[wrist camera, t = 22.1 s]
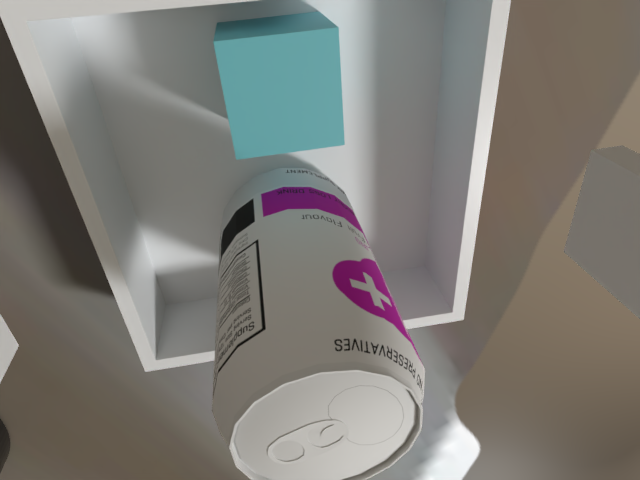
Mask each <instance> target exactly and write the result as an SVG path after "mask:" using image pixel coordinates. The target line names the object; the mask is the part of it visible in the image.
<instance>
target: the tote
mask: <svg viewBox="0 0 640 480" xmlns="http://www.w3.org/2000/svg"><path fill="white" fill-rule="evenodd" d="M510 3H511V0H0V17H1V20H2V22H3V24H4V27H5V29H6V32H7V34H8V37H9V39H10V42H11V44H12V47H13V49H14V51H15V54H16V56H17V59H18V61H19V64H20V66H21V69H22V71H23V73H24V76H25V78H26V81H27V83H28V86H29V88H30V91H31V93H32V95H33V98H34V100H35V103H36V105H37V108H38V110H39V113H40V115H41V118H42V120H43V122H44V125H45V127H46V130H47V132H48V135H49V137H50V140H51V142H52V144H53V147H54V149H55V152H56V154H57V157H58V159H59V162H60V164H61V166H62V169H63V171H64V174H65V176H66V179H67V181H68V184H69V186H70V189H71V191H72V193H73V196H74V198H75V201H76V203H77V206H78V208H79V211H80V213H81V215H82V218H83V220H84V223H85V225H86V228H87V230H88V233H89V235H90V237H91V240H92V242H93V245H94V247H95V250H96V252H97V255H98V257H99V259H100V262H101V264H102V267H103V269H104V272H105V274H106V277H107V279H108V282H109V284H110V286H111V289H112V291H113V294H114V296H115V299H116V301H117V304H118V306H119V308H120V311H121V313H122V316H123V318H124V321H125V323H126V326H127V328H128V330H129V333H130V335H131V338H132V340H133V343H134V345H135V348H136V350H137V353H138V355H139V357H140V360H141V362H142V365H143V367H144V370H145V372H148V371H154V370H160V369H166V368H172V367H178V366H184V365H190V364H197V363H203V362H209V361H214V358H215V336H216V313H217V291H218V268H219V246H220V229H221V223H222V217H223V211H224V208H225V207H226V205H227V204H228V202H229V201H230V199H231V197H232V196H233V194H234V193H235V191H236V190H237V189H239V188H240V187H241V186H243V185H244V184H245V183H247V182H248V181H249V180H251V179H252V178H253V177H255V176H257V175H260V174H263V173H266V172H269V171H272V170H275V169H279V168H305V169H308V170H310V171H313V172H316V173H319V174H322V175H324V176H327V177H328V178H330V179H331V180H332V181H333V182H334V183H335V184H337V185H338V186H339V187H340V188H341V189H342V190H344V192H345V194H346V196H347V198H348V200H349V202H350V204H351V206H352V208H353V210H354V212H355V214H356V217H357V219H358V221H359V223H360V226H361V228H362V230H363V232H364V235H365V237H366V239H367V241H368V244H369V246H370V248H371V250H372V253H373V255H374V257H375V259H376V261H377V264H378V266H379V268H380V270H381V273H382V275H383V277H384V279H385V282H386V284H387V286H388V288H389V291H390V293H391V295H392V297H393V300H394V302H395V304H396V306H397V309H398V311H399V313H400V315H401V317H402V320H403V322H404V324H405V326H406V329H411V328H417V327H423V326H429V325H435V324H441V323H448V322H454V321H460V320H464V313H465V307H466V300H467V293H468V286H469V280H470V273H471V266H472V259H473V253H474V246H475V239H476V232H477V226H478V219H479V212H480V206H481V199H482V192H483V185H484V179H485V172H486V165H487V158H488V152H489V145H490V138H491V131H492V125H493V118H494V111H495V104H496V98H497V91H498V84H499V77H500V71H501V64H502V57H503V50H504V44H505V37H506V30H507V23H508V17H509V10H510ZM318 11H319V12H321V13H322V14H323V15H324V16H325V17H327V18H328V19H329V20H330V21H332V22H333V23H334V24H335V25H336V26H338V27H339V44H340V64H341V83H342V102H343V121H344V140H345V145H341V146H334V147H327V148H319V149H312V150H305V151H297V152H290V153H283V154H275V155H268V156H261V157H254V158H246V159H239V160H236V156H235V151H234V146H233V141H232V136H231V130H230V125H229V120H228V115H227V110H226V105H225V100H224V95H223V89H222V84H221V79H220V74H219V69H218V64H217V59H216V53H215V48H214V43H213V40H214V35H215V30H216V25H217V23H218V22H227V21H236V20H246V19H255V18H264V17H273V16H282V15H291V14H300V13H309V12H318Z"/></svg>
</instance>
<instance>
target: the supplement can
mask: <svg viewBox="0 0 640 480" xmlns="http://www.w3.org/2000/svg"><path fill="white" fill-rule="evenodd" d="M424 380H425V369H424V367H423V365H422V362H421V360H420V358H419V356H418V353H417V351H416V349H415V347H414V344H413V342H412V340H411V338H410V335H409V333H408V331H407V329H406V326H405V324H404V322H403V320H402V317H401V315H400V313H399V311H398V309H397V306H396V304H395V302H394V300H393V297H392V295H391V293H390V291H389V288H388V286H387V284H386V282H385V279H384V277H383V275H382V273H381V270H380V268H379V266H378V264H377V261H376V259H375V257H374V255H373V253H372V250H371V248H370V246H369V244H368V241H367V239H366V237H365V235H364V232H363V230H362V228H361V226H360V223H359V221H358V219H357V217H356V214H355V212H354V210H353V208H352V206H351V204H350V202H349V200H348V198H347V196H346V194H345V192H344V190H342V189H341V188H340V187H339V186H338V185H337V184H335V183H334V182H333V181H332V180H331V179H330V178H328V177H327V176H324V175H322V174H319V173H316V172H313V171H310V170H308V169H305V168H279V169H275V170H272V171H269V172H266V173H263V174H260V175H257V176H255V177H253V178H252V179H251V180H249V181H248V182H247V183H245V184H244V185H243V186H241V187H240V188H239V189H237V190H236V191H235V193H234V194H233V196H232V197H231V199H230V201H229V202H228V204H227V205H226V207H225V208H224V211H223V217H222V223H221V229H220V246H219V268H218V291H217V313H216V336H215V358H214V381H213V404H212V412H213V415H214V418H215V420H216V423H217V426H218V429H219V432H220V434H221V436H222V437H223V439H224V440H225V442H226V444H227V445H228V447H229V448H230V451H231V454H232V457H233V459H234V462H235V465H236V467H237V468H238V469H239V470H241V471H242V472H243V473H244V474H245V475H246V476H247V477H249V478H250V479H251V480H367V479H368V478H370V477H372V476H374V475H376V474H378V473H380V472H381V471H383V470H385V469H387V468H389V467H391V466H392V465H393V464H394V463H395V462H396V461H398V460H399V459H400V458H401V457H402V456H403V455H404V454H405V453H406V452H408V451H409V450H410V449H411V447H412V445H413V444H414V442H415V440H416V438H417V437H418V435H419V433H420V431H421V430H422V417H423V407H422V401H423V396H424Z"/></svg>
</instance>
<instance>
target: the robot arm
mask: <svg viewBox="0 0 640 480" xmlns="http://www.w3.org/2000/svg"><path fill="white" fill-rule="evenodd" d="M564 253H566V254H567V255H568V256H569V257H570V258H571V259H573V260H574V261H575V262H576V263H577V264H578V265H579V266H580V267H581V268H583V269H584V270H585V271H586V272H587V273H588V274H589V275H591V276H592V277H593V278H594V279H595V280H596V281H597V282H598V283H600V284H601V285H602V286H603V287H604V288H605V289H607V290H608V291H609V292H610V293H611V294H612V295H613V296H614V297H616V298H617V299H618V300H619V301H620V302H621V303H622V304H624V305H625V306H626V307H627V308H628V309H629V310H630V311H631V312H632V313H634V314H635V315H636V316H637V317H638V318H639V319H640V154H639V153H637V152H635V151H633V150H631V149H629V148H627V147H624V146H616V147H609V148H602V149H595V150H591V153H590V157H589V161H588V164H587V168H586V172H585V175H584V179H583V183H582V186H581V190H580V194H579V197H578V202H577V205H576V209H575V212H574V216H573V219H572V223H571V227H570V230H569V234H568V238H567V241H566V245H565V249H564ZM18 346H19V345H18V343H17V341H16V340H15V338H14V336H13V335H12V333H11V331H10V330H9V328H8V326H7V325H6V323H5V321H4V320H3V318H2V316H1V315H0V382H1V380H2V378H3V376H4V374H5V372H6V370H7V368H8V366H9V364H10V362H11V360H12V358H13V356H14V354H15V352H16V350H17V348H18ZM9 451H10V438H9V434H8V431H7V429H6V427H5V425H4V424H3V422H2V421H1V419H0V473H1V471H2V468H3V466H4V464H5V461H6V459H7V457H8V454H9Z"/></svg>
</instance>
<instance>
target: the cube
mask: <svg viewBox="0 0 640 480" xmlns="http://www.w3.org/2000/svg"><path fill="white" fill-rule="evenodd" d="M213 43H214V48H215V53H216V59H217V64H218V69H219V74H220V79H221V84H222V89H223V95H224V100H225V105H226V110H227V115H228V120H229V125H230V130H231V136H232V141H233V146H234V151H235V156H236V160H239V159H246V158H254V157H261V156H268V155H275V154H283V153H290V152H297V151H305V150H312V149H319V148H327V147H334V146H341V145H345V140H344V121H343V102H342V83H341V64H340V44H339V27H338V26H336V25H335V24H334V23H333V22H332V21H330V20H329V19H328V18H327V17H325V16H324V15H323V14H322V13H321V12H319V11H318V12H309V13H300V14H291V15H282V16H273V17H264V18H255V19H246V20H236V21H227V22H218V23H217V25H216V30H215V35H214V40H213Z"/></svg>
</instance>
